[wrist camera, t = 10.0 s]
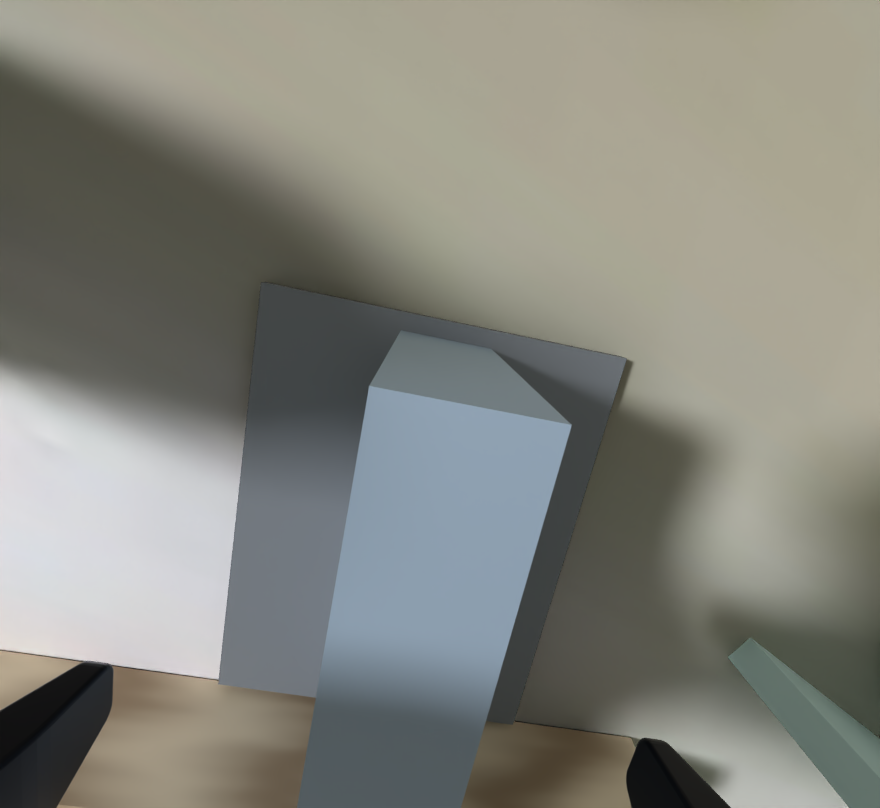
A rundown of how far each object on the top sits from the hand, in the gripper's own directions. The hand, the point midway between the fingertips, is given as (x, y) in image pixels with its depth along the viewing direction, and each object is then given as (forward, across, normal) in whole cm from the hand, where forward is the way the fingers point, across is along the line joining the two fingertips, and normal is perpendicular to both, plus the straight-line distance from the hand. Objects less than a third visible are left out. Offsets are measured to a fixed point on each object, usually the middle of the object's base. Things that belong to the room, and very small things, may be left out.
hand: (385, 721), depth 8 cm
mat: (+7, 0, 0) cm, 7 cm away
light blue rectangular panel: (+6, 0, 0) cm, 6 cm away
